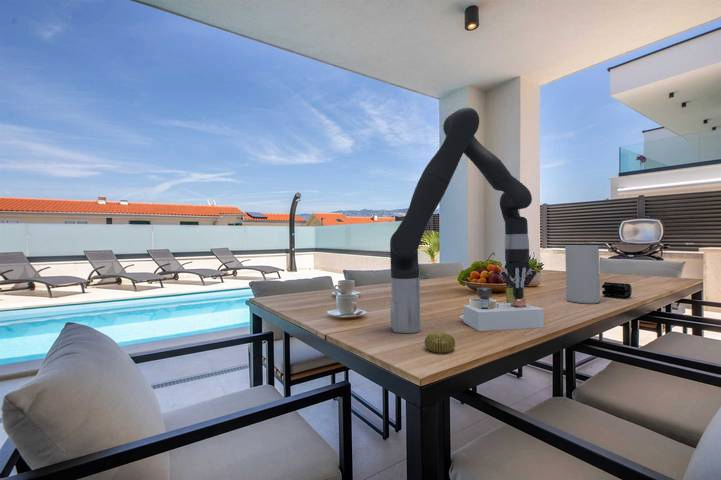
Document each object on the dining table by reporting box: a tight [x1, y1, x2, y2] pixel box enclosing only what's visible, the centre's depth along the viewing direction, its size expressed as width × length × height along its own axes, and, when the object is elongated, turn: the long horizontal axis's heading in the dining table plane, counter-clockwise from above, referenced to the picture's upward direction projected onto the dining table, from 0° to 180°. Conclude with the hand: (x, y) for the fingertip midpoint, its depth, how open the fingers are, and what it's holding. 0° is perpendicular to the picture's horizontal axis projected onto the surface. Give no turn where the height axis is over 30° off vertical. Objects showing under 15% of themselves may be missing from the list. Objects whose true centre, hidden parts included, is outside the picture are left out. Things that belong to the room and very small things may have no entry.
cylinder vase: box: [564, 244, 601, 305], centre depth 152 cm, size 12×12×25 cm
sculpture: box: [424, 332, 456, 354], centre depth 91 cm, size 8×4×8 cm
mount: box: [462, 302, 545, 332], centre depth 115 cm, size 22×12×6 cm, turn 96°
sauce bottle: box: [505, 274, 525, 303], centre depth 128 cm, size 7×6×20 cm
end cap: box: [601, 281, 633, 300], centre depth 160 cm, size 10×7×7 cm
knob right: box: [511, 297, 527, 308], centre depth 116 cm, size 5×5×8 cm
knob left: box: [476, 287, 493, 309], centre depth 114 cm, size 5×5×8 cm
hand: (518, 298), depth 116 cm, fingers closed
